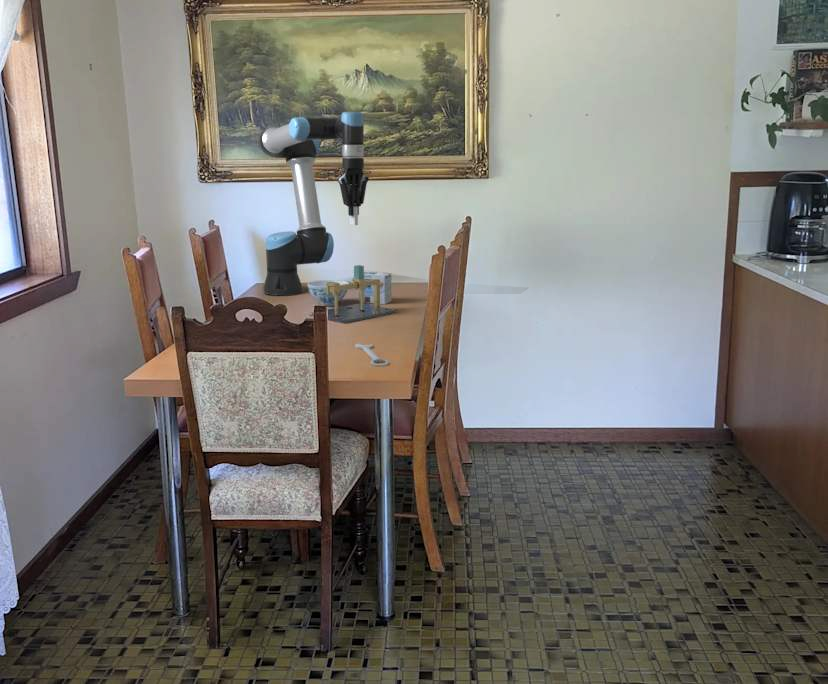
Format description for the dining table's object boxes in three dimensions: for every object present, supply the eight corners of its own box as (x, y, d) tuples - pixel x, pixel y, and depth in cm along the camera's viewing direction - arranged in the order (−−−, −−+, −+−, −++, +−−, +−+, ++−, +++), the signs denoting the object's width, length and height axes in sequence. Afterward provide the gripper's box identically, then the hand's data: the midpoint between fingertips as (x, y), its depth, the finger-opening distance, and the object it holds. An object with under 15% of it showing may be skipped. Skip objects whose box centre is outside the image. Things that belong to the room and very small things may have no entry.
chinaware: (319, 299, 323) (319, 279, 321) (356, 301, 317) (355, 281, 315) (300, 306, 309) (300, 285, 307) (338, 309, 304) (337, 287, 302)
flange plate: (309, 315, 293) (309, 312, 293) (361, 305, 310) (361, 302, 310) (344, 323, 281) (344, 320, 281) (396, 312, 298) (396, 309, 298)
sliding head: (353, 309, 298) (352, 265, 294) (358, 308, 299) (357, 264, 296) (360, 310, 295) (360, 266, 291) (366, 309, 297) (365, 266, 293)
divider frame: (327, 314, 289) (326, 282, 287) (374, 305, 305) (374, 274, 302) (334, 316, 287) (334, 283, 284) (382, 307, 302) (382, 276, 300)
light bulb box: (358, 302, 316) (358, 273, 314) (365, 299, 322) (365, 271, 320) (385, 304, 313) (385, 275, 310) (392, 301, 319) (392, 272, 316)
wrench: (370, 347, 253) (353, 348, 252) (370, 342, 253) (353, 343, 252) (391, 367, 230) (372, 368, 228) (391, 361, 230) (372, 362, 228)
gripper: (346, 158, 293) (347, 227, 299) (373, 157, 302) (374, 224, 308) (331, 157, 298) (333, 225, 304) (359, 156, 307) (360, 222, 313)
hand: (353, 224), depth 306 cm, fingers closed
